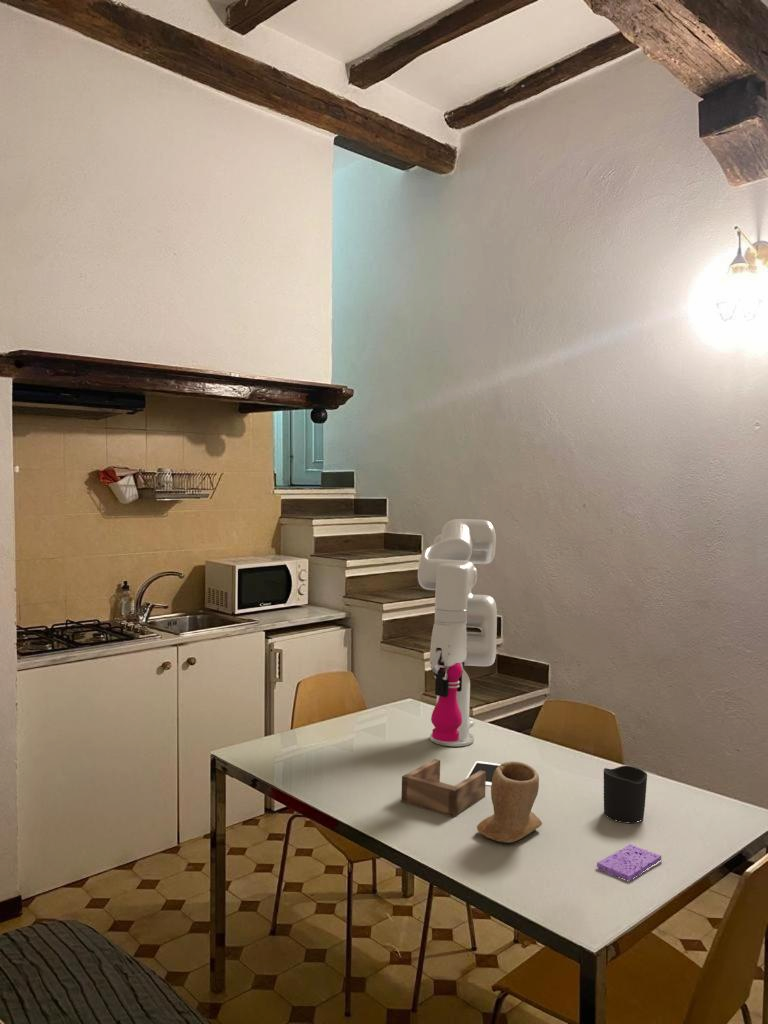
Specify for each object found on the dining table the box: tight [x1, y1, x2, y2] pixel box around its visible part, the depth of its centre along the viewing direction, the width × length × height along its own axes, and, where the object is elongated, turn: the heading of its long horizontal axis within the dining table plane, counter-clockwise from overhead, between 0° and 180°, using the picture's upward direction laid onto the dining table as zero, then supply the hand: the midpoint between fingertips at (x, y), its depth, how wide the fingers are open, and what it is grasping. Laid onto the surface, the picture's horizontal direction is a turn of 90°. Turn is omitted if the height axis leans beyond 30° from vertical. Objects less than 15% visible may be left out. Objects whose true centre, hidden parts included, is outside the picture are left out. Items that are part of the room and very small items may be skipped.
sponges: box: [596, 843, 662, 882], centre depth 156 cm, size 7×13×2 cm, turn 133°
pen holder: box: [603, 765, 648, 823], centre depth 179 cm, size 9×9×10 cm
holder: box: [400, 758, 486, 818], centre depth 186 cm, size 15×14×6 cm
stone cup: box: [476, 761, 543, 844], centre depth 168 cm, size 15×12×15 cm
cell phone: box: [465, 760, 502, 787], centre depth 204 cm, size 8×16×1 cm, turn 162°
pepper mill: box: [430, 663, 462, 742], centre depth 185 cm, size 7×7×20 cm
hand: (448, 692), depth 186 cm, fingers closed on pepper mill, 5 cm apart
